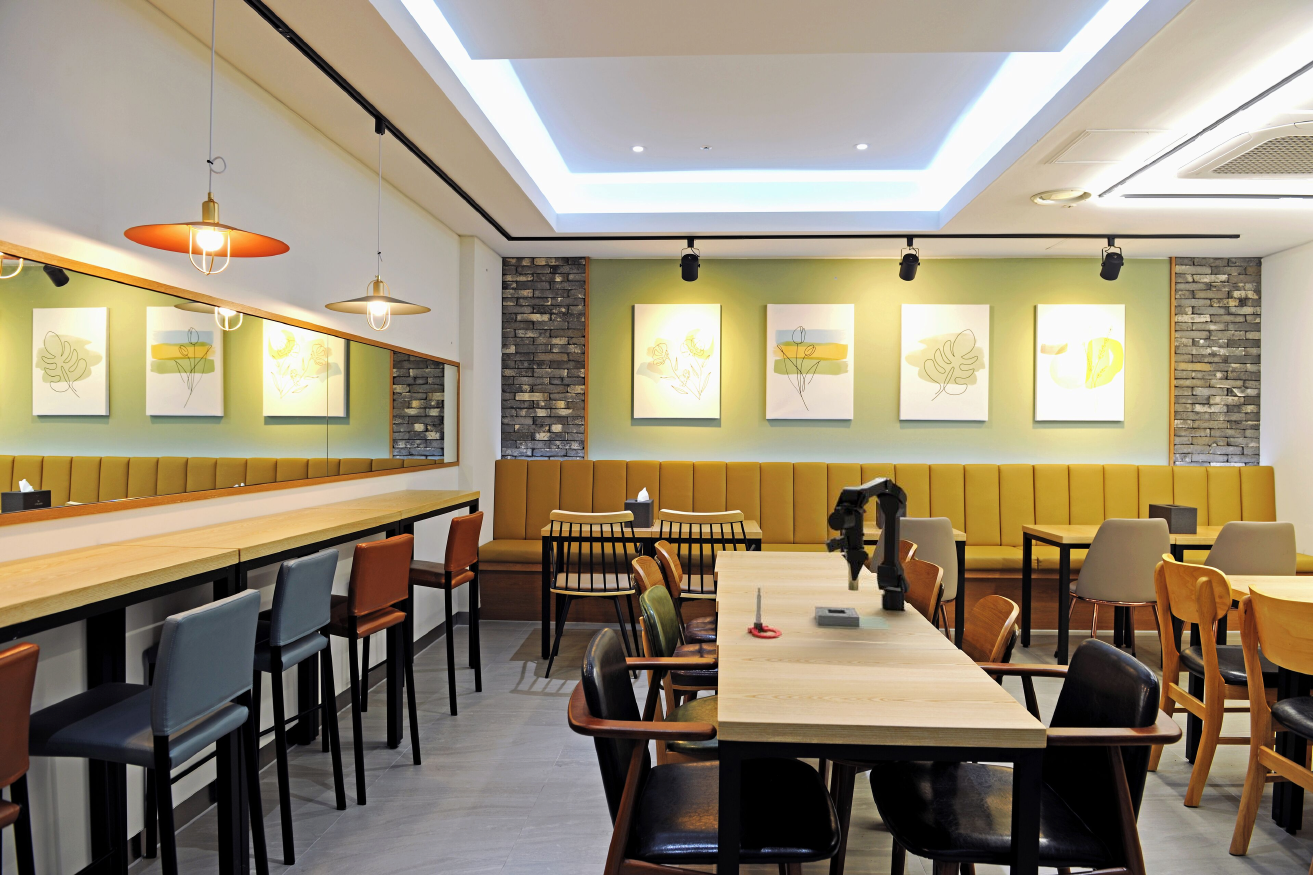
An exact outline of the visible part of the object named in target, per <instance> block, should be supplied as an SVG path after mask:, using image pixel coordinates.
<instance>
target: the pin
mask: <svg viewBox="0 0 1313 875" xmlns="http://www.w3.org/2000/svg"><path fill="white" fill-rule="evenodd" d="M847 567H848V568H847V569H848V573H847V574H848V576H847V578H848V579H847V583H848V585H847V586H848V587H847V589H848V591H853V592H857V591H859V578H860V577H859V576H860V574H859V575H858V577H857V580H856V581H852V577H851V571H850V565H849V563H848V564H847Z"/></svg>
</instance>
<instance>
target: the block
mask: <svg viewBox="0 0 1313 875" xmlns="http://www.w3.org/2000/svg"><path fill="white" fill-rule="evenodd" d="M814 617H815V620H817V621H816V623H817V626H818V625H819V626H844V627H859V617H860V616H859V614H858V612H857V610H856V608H855V607H844V606H843V607H841V606H839V607H838V606H836V607H835V606H815V607H814Z"/></svg>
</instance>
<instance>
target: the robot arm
mask: <svg viewBox="0 0 1313 875" xmlns="http://www.w3.org/2000/svg"><path fill="white" fill-rule="evenodd" d="M874 497H876V499H877V500H878V502H879V509H880V511H881V513H882V514H883V517H884V522H883V524H884V530H883V532H884V533H883V560H882V561H881V563H880V564H878V565H877V567H876V568H877V571H876V572H877V574H876V581H877V588H878V590H879V591H883V592H882V594H881V601H880V602H881V604H880V605H881V607H882V609H884V611H890V612H891V611H892V612H894V611H895V612H907V611H906V608H905V594H908V593H909V592H910V586H911V585H910V583H909V582H908V579H907V577H906V576H905V568H904V567H903V565H902V563H901V561H900V539H901V538H900V536H901V535H900V532H901V516H902V514H903V513H904V511H905V510H906V508H907V507H906V505H907V502H908V495H907V493H906V492H905V490H904V489H903V487H901V486H900V485H897V483H895V482H893V480H892V479H891V478H888V477H876V478H874V479H872V480H870V481H869V482H866V483H864V484H861V485H859V486H845V487H843V488H842V489H841V491H840V494H839V496H838V499H837V502H836V504H835V506H834V508H833V511H832V512H831V513H830V514H829V516H828V518H827V525H828V526H829V527H830V529H831V530H833V531H834V532H835V531H836V532H839V531H840V532H841V535H840V536H837V537H833V538H829V539H827V540H825V541H824V544H825V547H826V550H827V552H828V553H834V552H835V551H838V550H839V553H842V554H841V556H842V557H843V559H845V561H846V564H847V565H848V563H849V565H850V571H851V577H852V581H856V580H857V577H858V575H859V576H860V573H861V570H862V569H863V566H864V564H865V562H866V561H868V562H869V557H870V556H869V553H868V552H867V551H866V550H865V546H864V537H865V532H864V514H866V513H867V510H866V508H865V506H866V505H867V504H868V503H869V502H870V499H871V498H874ZM843 553H844V554H843Z"/></svg>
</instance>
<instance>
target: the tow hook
mask: <svg viewBox="0 0 1313 875" xmlns="http://www.w3.org/2000/svg"><path fill="white" fill-rule="evenodd" d="M761 589H762V588H761V587H757V594H756V614H755V621H754V622H753V626H752V627H747V633H749V634H750V633H751V634H752V636H753V637H756V638H758V639H759V638H761V639H767V640H769V639H772V640H773V639H778V638H779V639H780V637H781V636H782V633H783V632H782V630H780V629H776V628H774V627H773V628H772V627H769V625H767V624H764V625H763V622H762V612H761V611H762V610H761V609H762V595H761ZM759 631H760V632H773V633H774V634H764V633H759Z"/></svg>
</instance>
